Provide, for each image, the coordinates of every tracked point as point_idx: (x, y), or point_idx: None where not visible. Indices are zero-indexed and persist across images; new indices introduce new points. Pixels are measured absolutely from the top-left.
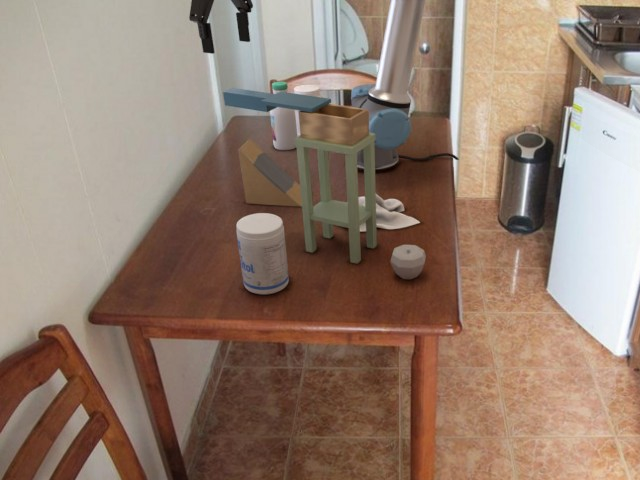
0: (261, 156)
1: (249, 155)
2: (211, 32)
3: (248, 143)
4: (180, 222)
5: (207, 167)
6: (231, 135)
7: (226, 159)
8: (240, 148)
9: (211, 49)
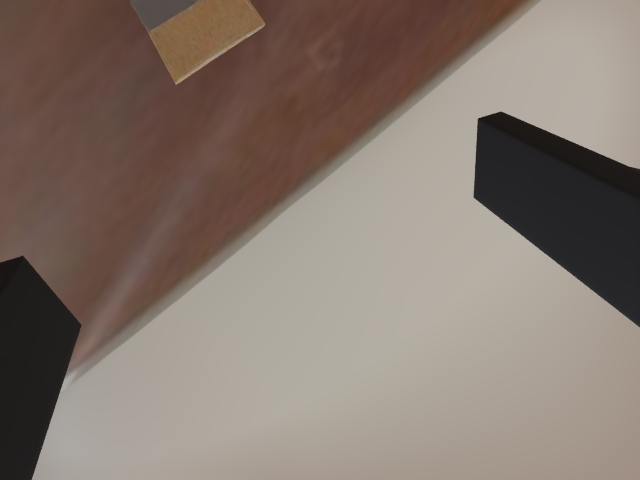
0: (179, 3)
1: (233, 1)
2: (615, 181)
3: (201, 54)
4: (391, 52)
5: (192, 245)
6: None
7: (135, 256)
8: (255, 27)
9: (521, 125)
